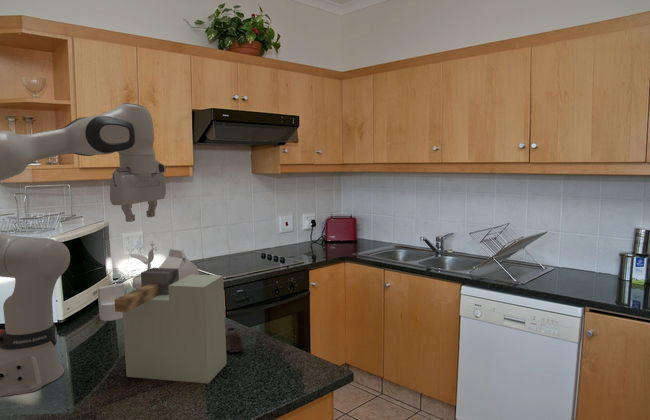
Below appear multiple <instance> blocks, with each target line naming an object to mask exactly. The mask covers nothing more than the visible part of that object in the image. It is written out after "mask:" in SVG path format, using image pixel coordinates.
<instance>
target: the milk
mask: <svg viewBox="0 0 650 420" xmlns="http://www.w3.org/2000/svg"><path fill="white" fill-rule="evenodd" d="M158 268H178V270H179V280H181V279H183V278H185V277H187V276H188V275H200V273H199V269H198V267H197V265H195V264H194V263H193V262H192V261H191V260H189V258H187V257H186V254H185V252H184V250H183V249H177V248H171V249H169V252H168V256H167V257H166V259H165V260H164V261H163V262H162V263H161V264H160V266H159V267H158Z"/></svg>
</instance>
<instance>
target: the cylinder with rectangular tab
mask: <svg viewBox="0 0 650 420" xmlns="http://www.w3.org/2000/svg"><path fill="white" fill-rule="evenodd" d="M123 295H125V285H124V283H122V282H121V283H114V284H110V285H109V284H108V285H103V286H98V287H97V298H98V301H97V302H98V312H99V320H101V321H104V322H106V321H107V322H109V321H117V320H121V319H123V313H122V312H115V299H117V298H119V297H121V296H123Z"/></svg>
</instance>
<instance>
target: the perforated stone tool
mask: <svg viewBox="0 0 650 420" xmlns="http://www.w3.org/2000/svg"><path fill="white" fill-rule="evenodd" d="M225 335H226V352H228V353H238V352H240V351H241V350H242V347H243V340H242V335H241V334H240V331H239V330H238V328H236V327H235V326H234V325H232V324H225Z"/></svg>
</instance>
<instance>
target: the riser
mask: <svg viewBox="0 0 650 420" xmlns="http://www.w3.org/2000/svg"><path fill="white" fill-rule="evenodd" d="M224 287H225V286H224V275H220V274H219V275H218V274H216V275H214V274H211V275H210V274H209V275H208V274H199V275H188V276H187V277H185V278H183V279H181V280H179V281H177V282H175V283H173V284H171V285H169V295H159V296H157V297H155V298H153V299H151V300H149V301H147V302H145V303H143V304H141V305H139V306H137V307H135V308H133V309H131V310H129V311H128V312H122V313H123V318H122V327H123V341H124V342H123V343H124V356H125V357H124V358H125V370H126V371H125V373H126V378H137V379H149V380H163V381H171V382H172V381H174V382H183V383H184V382H186V383H197V384H210V382H211V381H213V379H214V378H215V377H216V376H217V375H218V374H219V373H220V372H221V371H222V369H224V367H225V366H226V365H227V364H228V363H227V359H228V358H227V350H226V335H225V325H226V317H225V315H226V311H225V310H226V309H225V294H224V293H225V288H224Z"/></svg>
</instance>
